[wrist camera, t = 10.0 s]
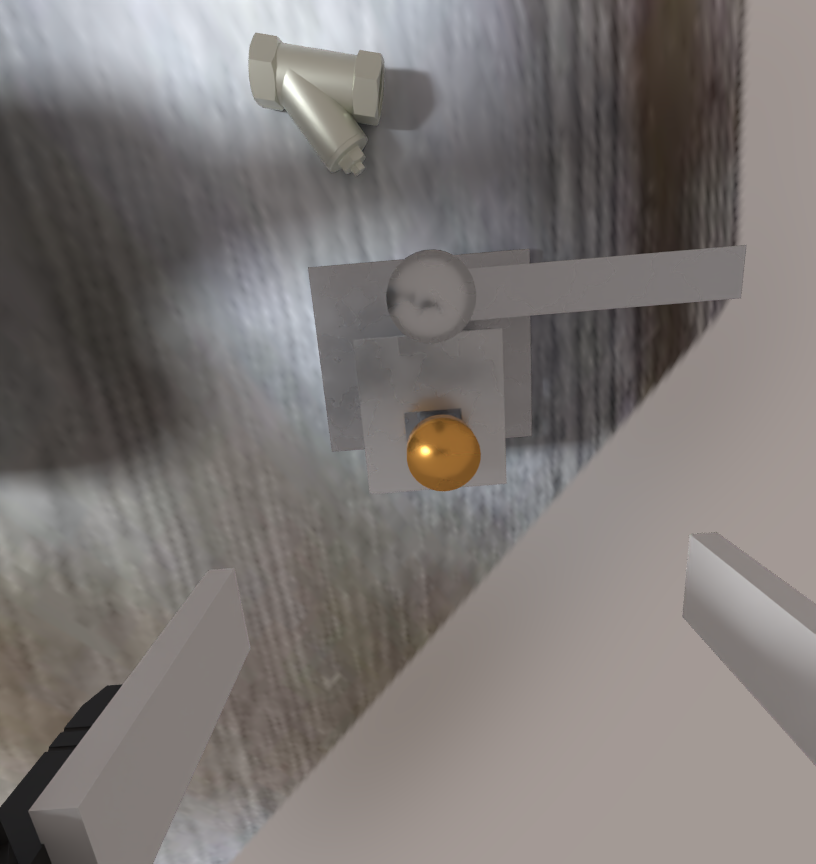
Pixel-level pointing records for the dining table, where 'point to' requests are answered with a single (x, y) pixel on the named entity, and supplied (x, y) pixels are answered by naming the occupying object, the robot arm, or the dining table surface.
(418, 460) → the gold knobbed rod
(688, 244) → the dining table surface
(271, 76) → the pipe fitting
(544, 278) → the grey lever mechanism
